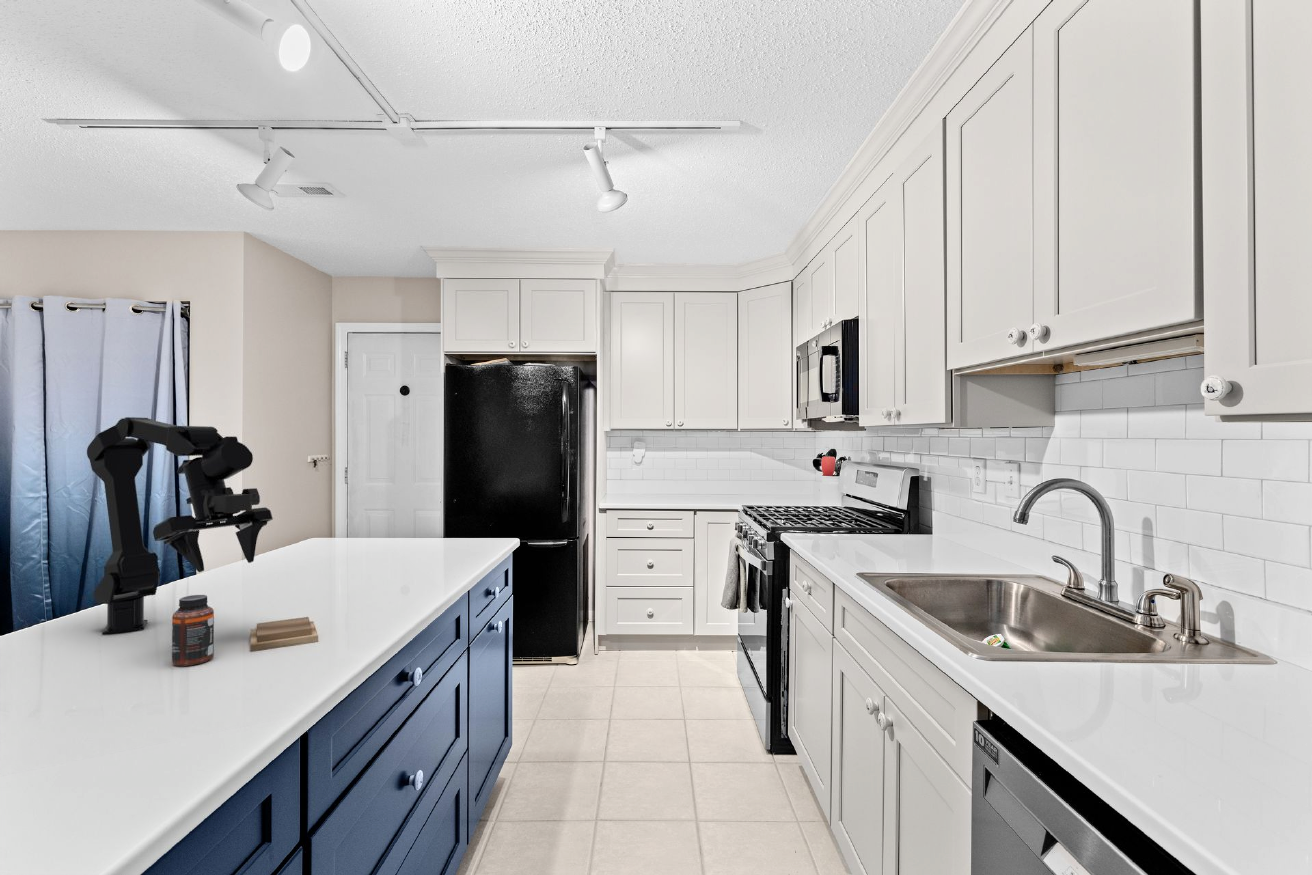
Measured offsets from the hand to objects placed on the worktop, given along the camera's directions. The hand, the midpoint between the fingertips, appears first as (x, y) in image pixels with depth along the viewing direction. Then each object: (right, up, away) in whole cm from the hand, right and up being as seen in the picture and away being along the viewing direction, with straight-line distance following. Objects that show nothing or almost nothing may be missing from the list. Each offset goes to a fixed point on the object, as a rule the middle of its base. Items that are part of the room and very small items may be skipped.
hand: (227, 566), depth 117 cm
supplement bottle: (-1, -16, -7) cm, 17 cm away
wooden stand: (+7, -15, +6) cm, 18 cm away
